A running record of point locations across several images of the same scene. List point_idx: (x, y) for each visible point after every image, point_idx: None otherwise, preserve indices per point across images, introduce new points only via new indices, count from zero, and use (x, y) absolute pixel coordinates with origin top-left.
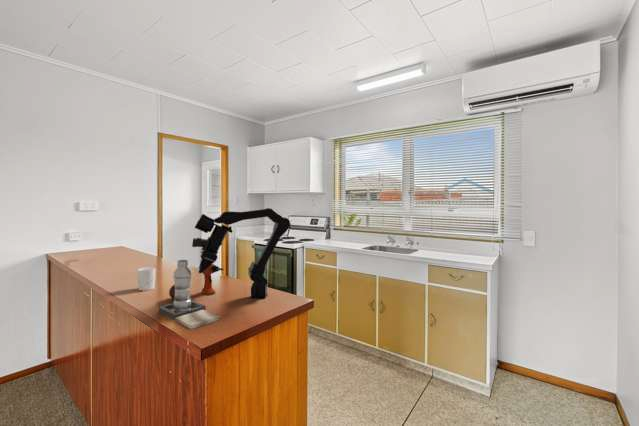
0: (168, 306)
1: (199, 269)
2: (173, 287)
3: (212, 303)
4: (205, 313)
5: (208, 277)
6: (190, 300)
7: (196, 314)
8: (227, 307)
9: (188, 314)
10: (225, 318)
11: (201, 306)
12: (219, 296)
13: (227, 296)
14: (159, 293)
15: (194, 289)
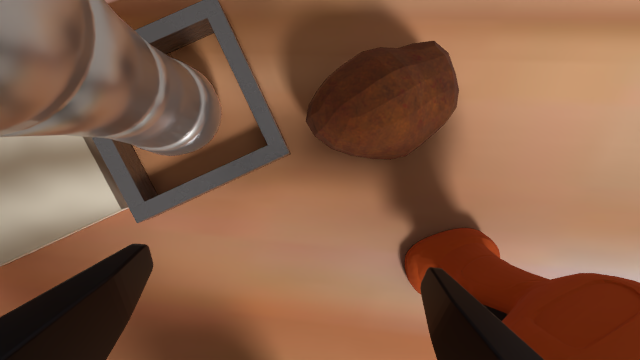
0: (221, 45)
1: (87, 270)
2: (393, 50)
3: (255, 259)
4: (56, 213)
5: (498, 302)
6: (142, 148)
7: (57, 171)
8: (164, 318)
9: (72, 136)
10: (12, 290)
11: (135, 203)
12: (358, 304)
13: (342, 341)
14: (546, 17)
15: (544, 195)
